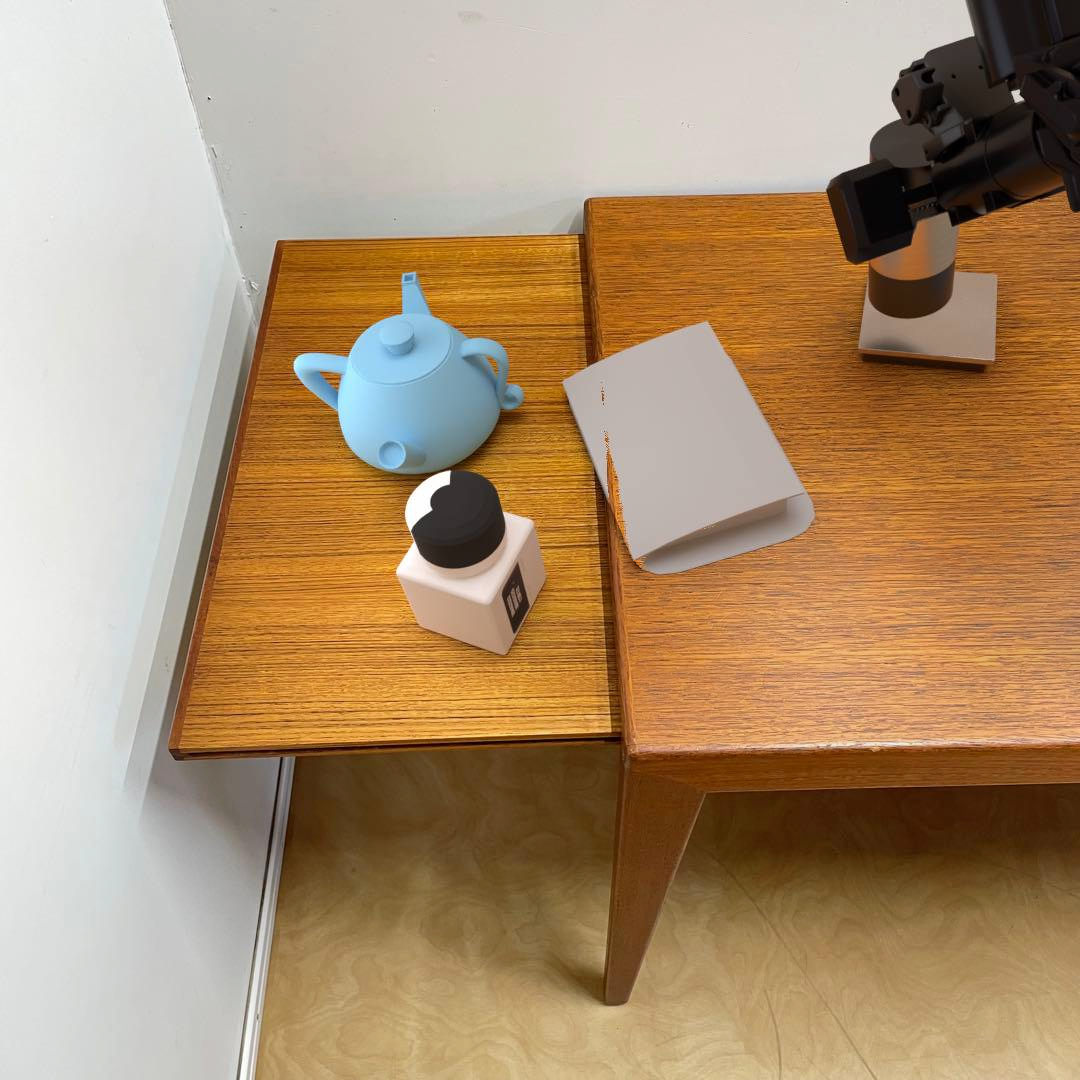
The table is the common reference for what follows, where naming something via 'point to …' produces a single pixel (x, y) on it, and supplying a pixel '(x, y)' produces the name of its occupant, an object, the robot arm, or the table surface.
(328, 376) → the table surface
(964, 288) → the platform
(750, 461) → the book
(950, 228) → the can
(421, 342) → the teapot
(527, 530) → the container
